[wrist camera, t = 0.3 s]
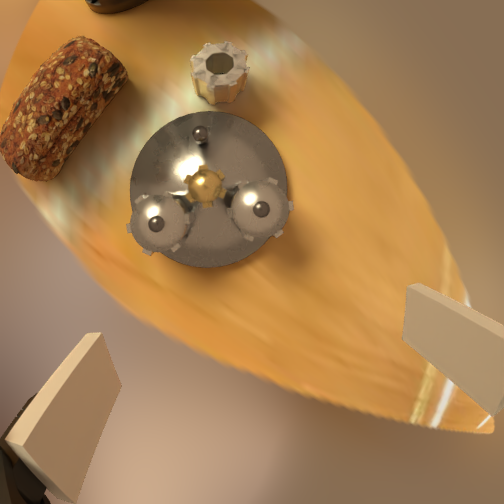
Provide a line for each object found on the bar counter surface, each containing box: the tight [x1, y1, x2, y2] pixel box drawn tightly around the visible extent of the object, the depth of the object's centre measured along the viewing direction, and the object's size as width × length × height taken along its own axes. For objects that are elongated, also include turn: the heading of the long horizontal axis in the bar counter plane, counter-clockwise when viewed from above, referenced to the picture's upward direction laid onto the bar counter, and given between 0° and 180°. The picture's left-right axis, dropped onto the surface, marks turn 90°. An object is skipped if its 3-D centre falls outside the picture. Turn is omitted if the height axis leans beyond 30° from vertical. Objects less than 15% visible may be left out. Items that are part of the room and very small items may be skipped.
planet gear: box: [190, 41, 250, 105], centre depth 29 cm, size 7×7×6 cm
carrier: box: [126, 111, 294, 268], centre depth 31 cm, size 20×20×8 cm
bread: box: [0, 36, 128, 181], centre depth 26 cm, size 19×11×10 cm, turn 139°
